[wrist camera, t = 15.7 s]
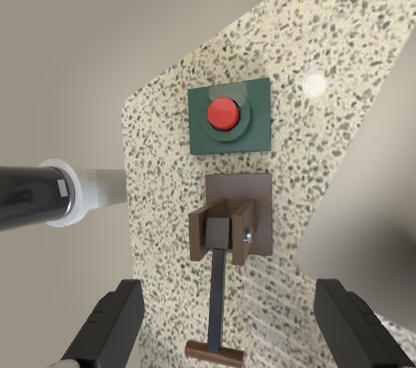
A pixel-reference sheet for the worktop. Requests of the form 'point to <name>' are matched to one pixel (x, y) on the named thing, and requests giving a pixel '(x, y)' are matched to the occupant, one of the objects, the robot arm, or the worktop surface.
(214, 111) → the button
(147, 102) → the worktop surface
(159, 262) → the worktop surface
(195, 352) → the lever
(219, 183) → the bracket
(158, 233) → the worktop surface
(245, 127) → the button box
